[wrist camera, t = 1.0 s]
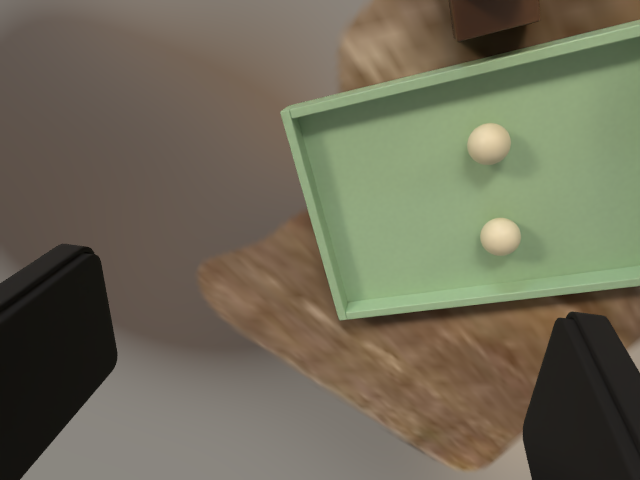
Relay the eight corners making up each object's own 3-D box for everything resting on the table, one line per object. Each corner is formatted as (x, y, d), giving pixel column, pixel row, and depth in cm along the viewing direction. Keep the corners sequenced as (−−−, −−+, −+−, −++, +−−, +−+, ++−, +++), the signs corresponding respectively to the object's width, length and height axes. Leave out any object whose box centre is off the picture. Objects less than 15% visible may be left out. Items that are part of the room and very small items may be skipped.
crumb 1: (504, 115, 29) (512, 123, 26) (509, 154, 29) (516, 165, 27) (462, 124, 29) (466, 133, 27) (468, 162, 30) (472, 174, 28)
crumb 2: (515, 209, 31) (522, 223, 29) (518, 242, 32) (526, 259, 30) (475, 215, 31) (480, 230, 29) (480, 248, 32) (484, 265, 30)
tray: (665, 13, 25) (683, 13, 24) (661, 266, 31) (676, 282, 29) (287, 105, 31) (279, 111, 29) (342, 305, 37) (339, 320, 35)
